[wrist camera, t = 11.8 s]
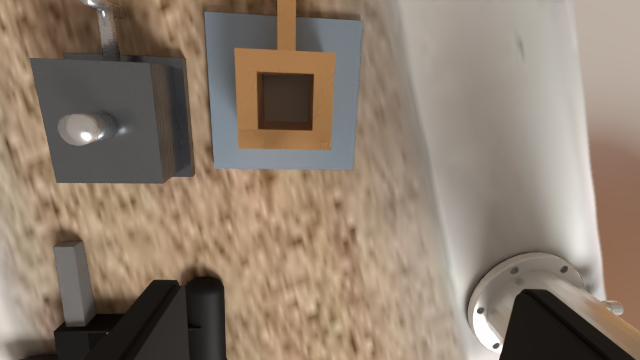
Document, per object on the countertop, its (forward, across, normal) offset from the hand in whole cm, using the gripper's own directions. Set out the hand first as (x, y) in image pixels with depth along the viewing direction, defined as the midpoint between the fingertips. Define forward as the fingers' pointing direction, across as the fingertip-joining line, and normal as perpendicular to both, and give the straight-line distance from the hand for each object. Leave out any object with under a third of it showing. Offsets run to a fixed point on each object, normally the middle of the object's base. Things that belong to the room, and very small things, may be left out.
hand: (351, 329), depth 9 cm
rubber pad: (+20, +3, -6) cm, 21 cm away
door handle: (+20, +18, +15) cm, 31 cm away
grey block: (+19, +15, -5) cm, 25 cm away
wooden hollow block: (+19, +3, -9) cm, 21 cm away
